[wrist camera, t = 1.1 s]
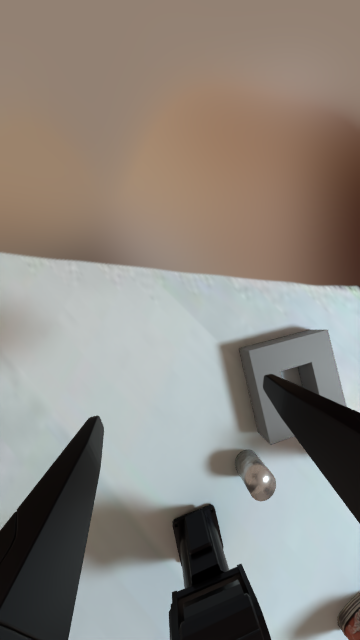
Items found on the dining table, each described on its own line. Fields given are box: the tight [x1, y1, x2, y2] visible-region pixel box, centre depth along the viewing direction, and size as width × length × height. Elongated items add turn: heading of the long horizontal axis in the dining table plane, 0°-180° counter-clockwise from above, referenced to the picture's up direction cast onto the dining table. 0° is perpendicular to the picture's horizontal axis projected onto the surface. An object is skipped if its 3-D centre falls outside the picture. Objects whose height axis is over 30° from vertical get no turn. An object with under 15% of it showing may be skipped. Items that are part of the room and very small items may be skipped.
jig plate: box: [239, 330, 346, 445], centre depth 27 cm, size 14×14×3 cm
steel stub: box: [235, 450, 276, 501], centre depth 25 cm, size 4×4×4 cm
